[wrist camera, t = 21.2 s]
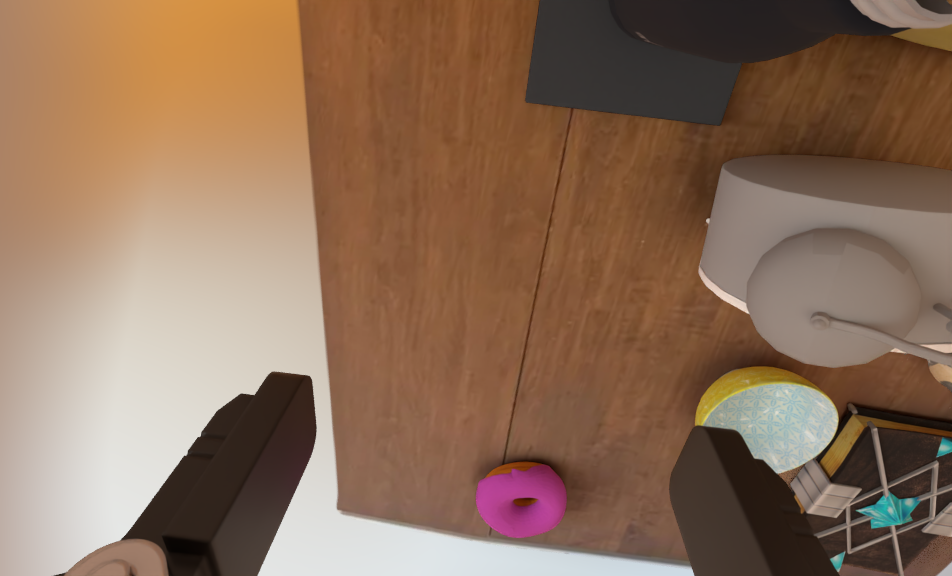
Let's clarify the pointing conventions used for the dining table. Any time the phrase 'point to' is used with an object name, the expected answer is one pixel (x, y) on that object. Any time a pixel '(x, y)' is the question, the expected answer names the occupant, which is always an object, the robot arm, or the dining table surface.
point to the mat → (620, 69)
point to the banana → (929, 36)
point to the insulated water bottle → (768, 23)
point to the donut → (521, 499)
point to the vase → (941, 373)
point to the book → (879, 490)
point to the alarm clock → (835, 255)
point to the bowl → (771, 414)
